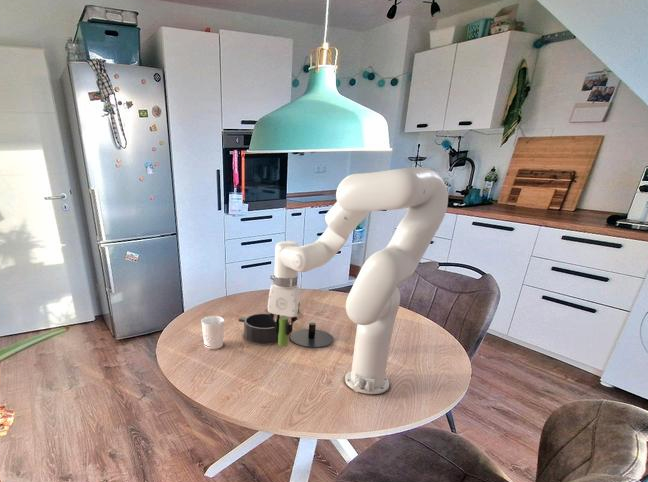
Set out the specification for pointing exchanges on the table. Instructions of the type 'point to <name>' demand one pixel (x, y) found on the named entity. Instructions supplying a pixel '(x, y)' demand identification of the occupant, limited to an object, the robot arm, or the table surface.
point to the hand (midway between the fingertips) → (283, 331)
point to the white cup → (213, 331)
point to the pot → (259, 328)
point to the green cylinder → (282, 331)
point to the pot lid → (311, 337)
